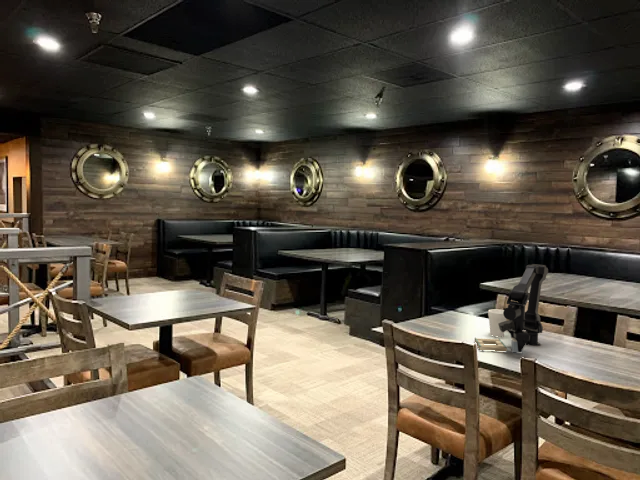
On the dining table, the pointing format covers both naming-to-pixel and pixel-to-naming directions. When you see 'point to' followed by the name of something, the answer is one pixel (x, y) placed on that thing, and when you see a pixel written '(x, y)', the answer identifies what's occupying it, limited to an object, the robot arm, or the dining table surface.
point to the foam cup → (496, 321)
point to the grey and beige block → (514, 345)
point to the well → (497, 347)
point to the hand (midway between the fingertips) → (516, 348)
